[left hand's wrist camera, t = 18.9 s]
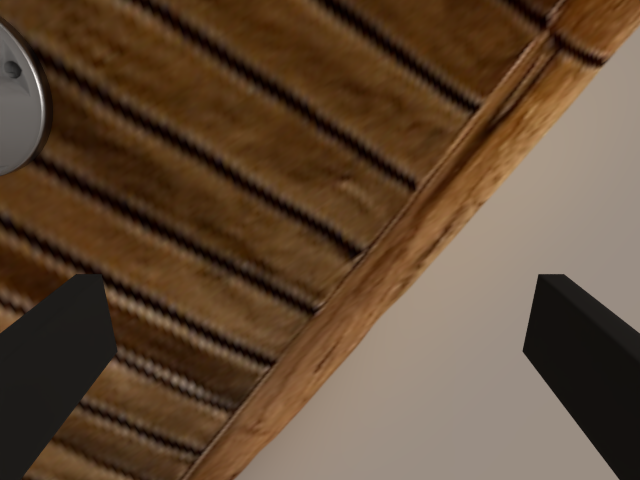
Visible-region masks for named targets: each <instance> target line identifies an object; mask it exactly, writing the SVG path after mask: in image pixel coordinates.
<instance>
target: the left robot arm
mask: <svg viewBox="0 0 640 480" xmlns="http://www.w3.org/2000/svg"><path fill="white" fill-rule="evenodd" d="M52 120H53V103H52V96H51V91H50V87H49V83H48V80H47V77H46V74H45V72H44V70H43V67H42V65H41V63H40V62H39V60H38V58H37V56H36V55H35V53H34V51H33V50H32V48H31V47H30V46H29V44H28V43H27V42H26V40H25V39H24V38H23V37H22V36H21V35H20V33H19V32H18V31H17V30H16V29H15V28H14V27H13V26H12V25H10V24H9V23H8V22H7V21H6V20H5V19H3V18H2V17H1V16H0V176H1V175H5V174H8V173H11V172H14V171H17V170H19V169H21V168H23V167H24V166H26V165H28V164H29V163H30V162H31V161H33V160H34V159H35V158H36V157H37V156H38V154H39V153H40V152H41V150H42V149H43V147H44V146H45V144H46V142H47V139H48V137H49V134H50V130H51V126H52ZM116 353H117V347H116V342H115V337H114V332H113V328H112V323H111V318H110V313H109V308H108V303H107V299H106V294H105V289H104V284H103V279H102V274H76V275H74V276H73V277H72V278H71V279H69V280H68V281H67V282H65V283H64V284H63V285H62V286H60V287H59V288H58V289H57V290H55V291H54V292H53V293H51V294H50V295H49V296H48V297H46V298H45V299H44V300H42V301H41V302H40V303H39V304H37V305H36V306H35V307H34V308H32V309H31V310H30V311H28V312H27V313H26V314H25V315H23V316H22V317H21V318H19V319H18V320H17V321H16V322H14V323H13V324H12V325H11V326H9V327H8V328H7V329H5V330H4V331H3V332H2V333H0V480H21V478H22V477H23V476H24V474H25V473H26V472H27V470H28V469H29V468H30V466H31V465H32V464H33V462H34V461H35V460H36V458H37V457H38V456H39V454H40V453H41V452H42V451H43V449H44V448H45V447H46V445H47V444H48V443H49V441H50V440H51V439H52V437H53V436H54V435H55V433H56V432H57V431H58V429H59V428H60V427H61V425H62V424H63V423H64V421H65V420H66V419H67V417H68V416H69V415H70V413H71V412H72V411H73V410H74V408H75V407H76V406H77V404H78V403H79V402H80V400H81V399H82V398H83V396H84V395H85V394H86V392H87V391H88V390H89V388H90V387H91V386H92V384H93V383H94V382H95V380H96V379H97V378H98V376H99V375H100V374H101V372H102V371H103V370H104V368H105V367H106V366H107V365H108V363H109V362H110V361H111V359H112V358H113V357H114V355H115V354H116ZM523 353H524V354H525V355H526V357H527V358H528V359H529V361H530V362H531V363H532V364H533V366H534V367H535V368H536V370H537V371H538V372H539V374H540V375H541V376H542V378H543V379H544V380H545V382H546V383H547V384H548V386H549V387H550V388H551V390H552V391H553V392H554V394H555V395H556V396H557V398H558V399H559V400H560V402H561V403H562V404H563V406H564V407H565V408H566V409H567V411H568V412H569V413H570V415H571V416H572V417H573V419H574V420H575V421H576V423H577V424H578V425H579V427H580V428H581V429H582V431H583V432H584V433H585V435H586V436H587V437H588V439H589V440H590V441H591V443H592V444H593V445H594V447H595V448H596V449H597V451H598V452H599V453H600V454H601V456H602V457H603V458H604V460H605V461H606V462H607V464H608V465H609V466H610V468H611V469H612V470H613V472H614V473H615V474H616V476H617V477H618V478H619V480H640V333H638V332H637V331H636V330H635V329H633V328H632V327H631V326H629V325H628V324H627V323H626V322H624V321H623V320H622V319H621V318H619V317H618V316H617V315H615V314H614V313H613V312H612V311H610V310H609V309H608V308H606V307H605V306H604V305H603V304H601V303H600V302H599V301H598V300H596V299H595V298H594V297H592V296H591V295H590V294H589V293H587V292H586V291H585V290H583V289H582V288H581V287H580V286H578V285H577V284H576V283H575V282H573V281H572V280H571V279H569V278H568V277H567V276H566V275H564V274H539V275H538V279H537V284H536V289H535V294H534V299H533V303H532V308H531V313H530V318H529V323H528V328H527V332H526V337H525V342H524V347H523Z"/></svg>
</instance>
